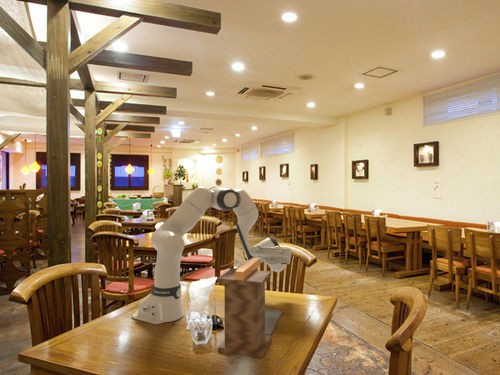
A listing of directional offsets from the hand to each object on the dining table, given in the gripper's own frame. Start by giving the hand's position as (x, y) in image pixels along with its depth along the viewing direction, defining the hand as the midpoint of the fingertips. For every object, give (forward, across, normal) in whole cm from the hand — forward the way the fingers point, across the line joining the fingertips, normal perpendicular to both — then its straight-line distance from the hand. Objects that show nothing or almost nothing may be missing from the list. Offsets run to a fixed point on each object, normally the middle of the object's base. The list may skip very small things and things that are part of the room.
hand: (267, 247), depth 153 cm
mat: (-3, 0, +32) cm, 32 cm away
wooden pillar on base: (+15, 0, +43) cm, 45 cm away
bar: (+24, 0, +18) cm, 30 cm away
